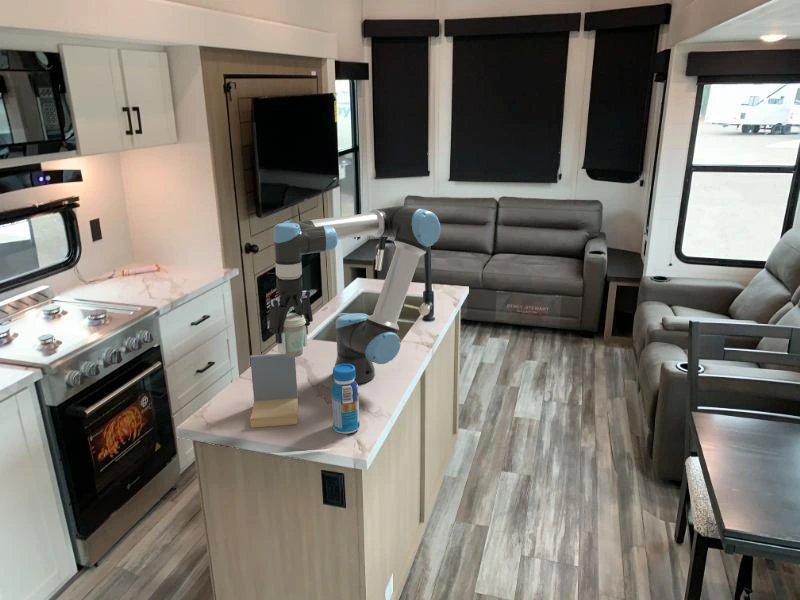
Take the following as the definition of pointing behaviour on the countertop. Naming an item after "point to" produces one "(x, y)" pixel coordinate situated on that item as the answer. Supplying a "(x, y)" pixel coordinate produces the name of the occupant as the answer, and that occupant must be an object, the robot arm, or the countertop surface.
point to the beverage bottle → (345, 399)
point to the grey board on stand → (274, 390)
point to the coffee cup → (294, 334)
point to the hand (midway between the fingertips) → (292, 348)
